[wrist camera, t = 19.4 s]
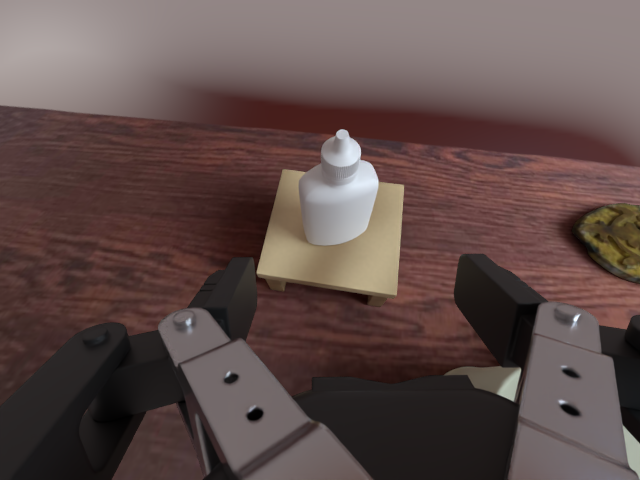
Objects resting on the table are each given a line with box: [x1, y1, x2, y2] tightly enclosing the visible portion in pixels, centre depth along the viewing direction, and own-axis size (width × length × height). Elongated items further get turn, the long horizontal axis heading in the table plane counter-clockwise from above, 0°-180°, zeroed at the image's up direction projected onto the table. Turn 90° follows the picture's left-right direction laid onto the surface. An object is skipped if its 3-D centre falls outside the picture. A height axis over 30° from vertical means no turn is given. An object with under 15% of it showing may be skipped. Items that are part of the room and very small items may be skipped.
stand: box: [256, 169, 404, 307], centre depth 32 cm, size 12×11×6 cm
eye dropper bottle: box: [298, 130, 378, 246], centre depth 23 cm, size 4×6×12 cm
